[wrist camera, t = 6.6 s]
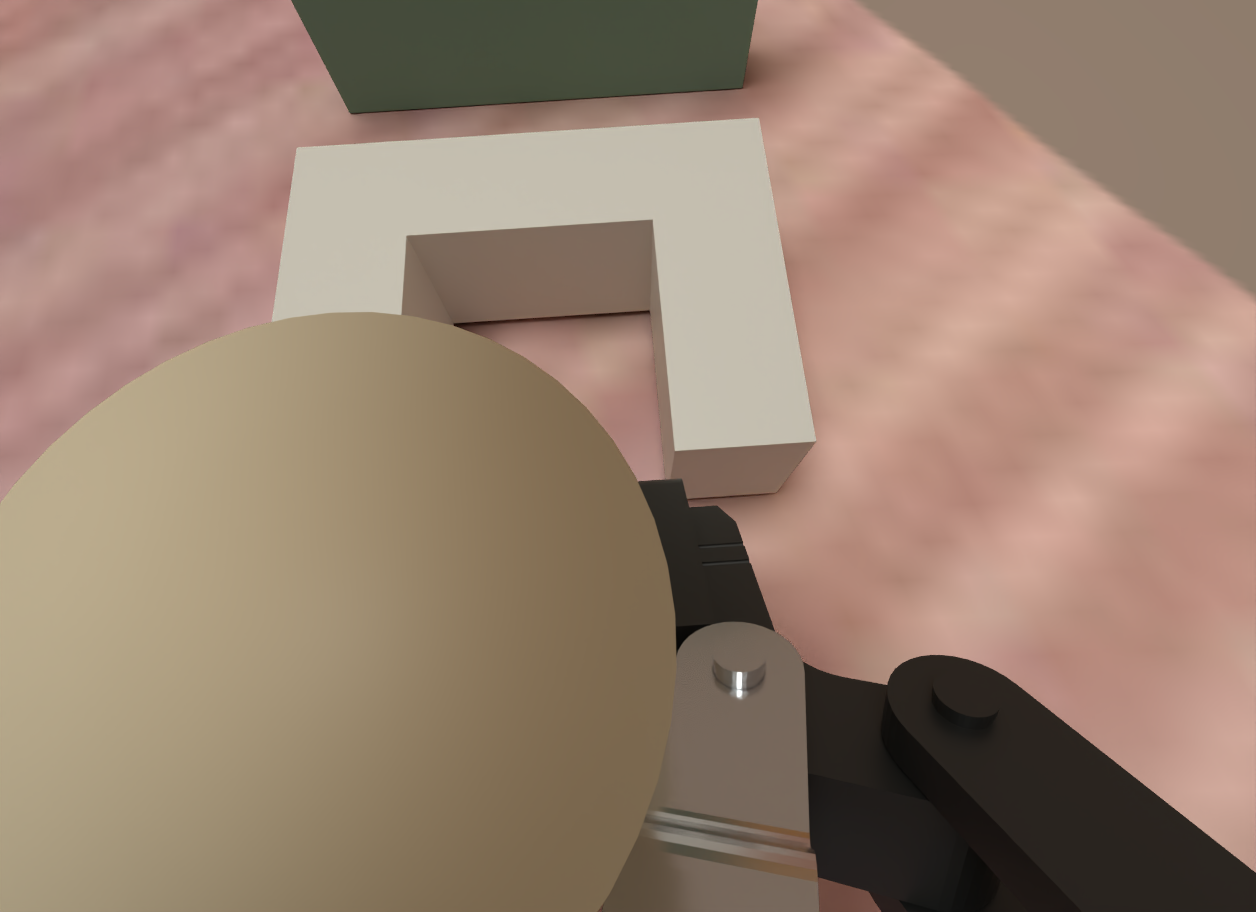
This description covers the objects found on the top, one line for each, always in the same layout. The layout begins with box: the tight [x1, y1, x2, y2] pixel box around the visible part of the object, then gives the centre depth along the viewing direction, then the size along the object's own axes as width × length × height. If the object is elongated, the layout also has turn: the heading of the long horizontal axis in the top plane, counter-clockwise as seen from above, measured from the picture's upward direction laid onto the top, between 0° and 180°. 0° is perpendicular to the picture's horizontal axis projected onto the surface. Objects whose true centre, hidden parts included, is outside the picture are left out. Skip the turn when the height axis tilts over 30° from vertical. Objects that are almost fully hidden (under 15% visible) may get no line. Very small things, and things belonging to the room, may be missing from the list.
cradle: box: [272, 118, 816, 499], centre depth 16 cm, size 9×12×4 cm
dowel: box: [0, 312, 677, 912], centre depth 9 cm, size 4×4×12 cm
